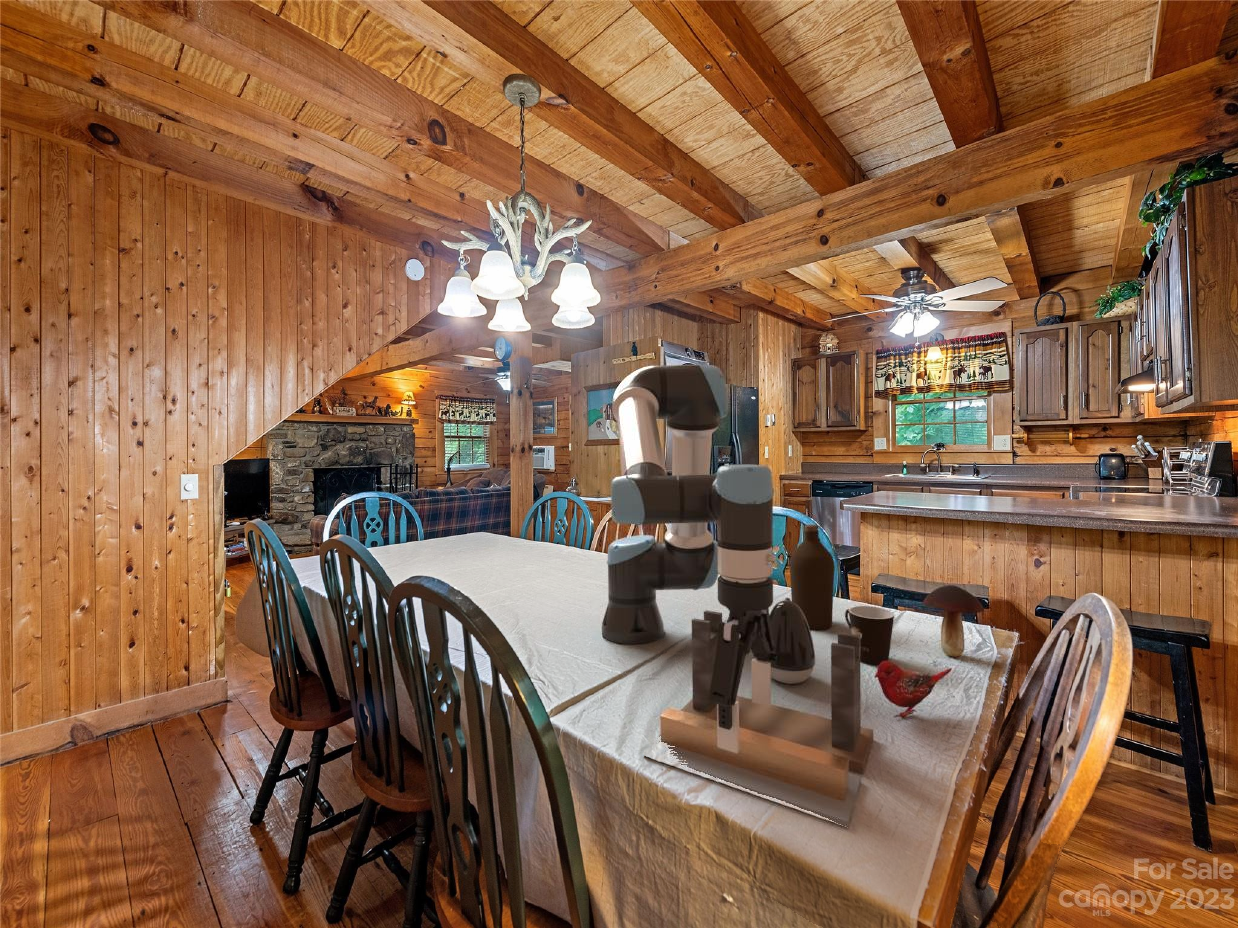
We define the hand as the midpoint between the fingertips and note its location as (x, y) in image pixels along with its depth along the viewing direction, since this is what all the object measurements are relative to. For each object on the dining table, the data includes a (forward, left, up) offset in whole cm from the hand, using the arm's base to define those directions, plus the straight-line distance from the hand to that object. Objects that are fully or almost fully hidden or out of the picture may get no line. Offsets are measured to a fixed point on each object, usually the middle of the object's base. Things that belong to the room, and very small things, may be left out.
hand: (745, 724), depth 74 cm
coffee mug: (+9, +51, -6) cm, 52 cm away
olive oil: (-6, +66, -6) cm, 66 cm away
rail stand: (0, +12, -6) cm, 13 cm away
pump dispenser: (-3, +32, -6) cm, 32 cm away
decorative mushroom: (+24, +60, -6) cm, 65 cm away
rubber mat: (0, 0, -6) cm, 6 cm away
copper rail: (0, 0, -5) cm, 5 cm away
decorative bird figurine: (+19, +29, -6) cm, 35 cm away
